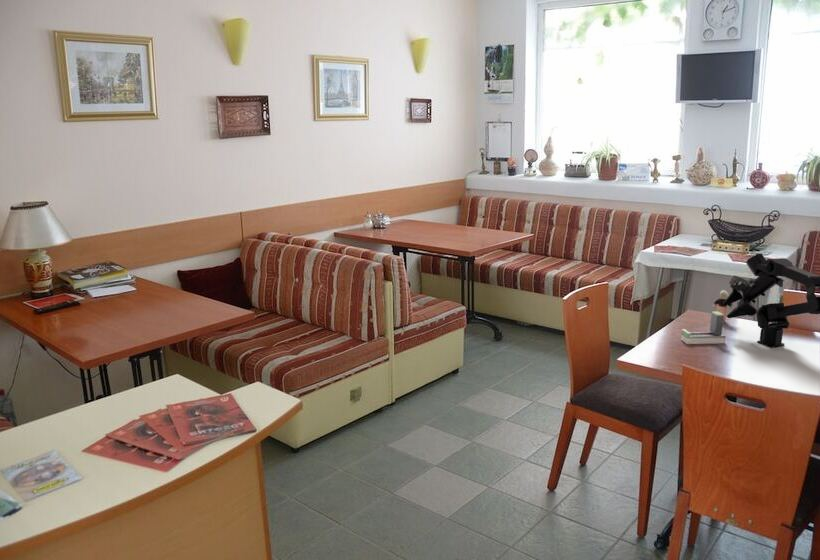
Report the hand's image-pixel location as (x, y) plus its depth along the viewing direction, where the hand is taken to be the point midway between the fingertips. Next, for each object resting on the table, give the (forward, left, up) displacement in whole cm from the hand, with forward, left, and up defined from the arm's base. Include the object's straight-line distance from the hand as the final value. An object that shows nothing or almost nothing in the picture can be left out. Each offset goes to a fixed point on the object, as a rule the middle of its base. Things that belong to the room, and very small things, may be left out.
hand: (725, 310), depth 259 cm
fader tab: (-5, +10, -7) cm, 13 cm away
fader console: (-4, +14, -9) cm, 17 cm away
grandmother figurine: (+12, -12, -9) cm, 20 cm away
